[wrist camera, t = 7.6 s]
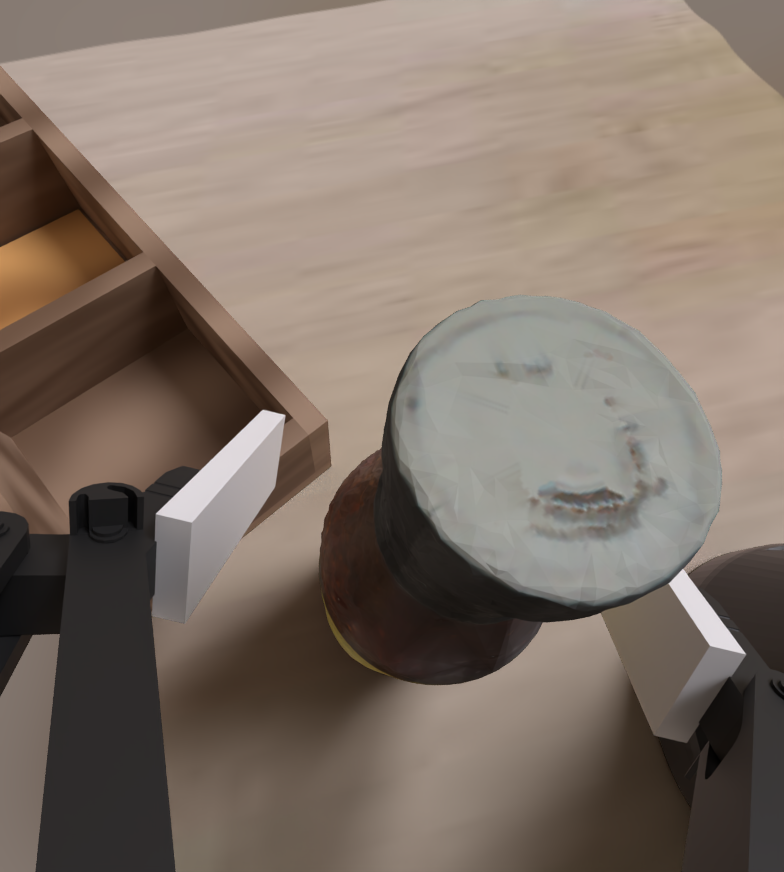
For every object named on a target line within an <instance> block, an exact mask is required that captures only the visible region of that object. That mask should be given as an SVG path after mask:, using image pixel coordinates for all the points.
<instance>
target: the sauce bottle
mask: <svg viewBox="0 0 784 872" xmlns="http://www.w3.org/2000/svg"><path fill="white" fill-rule="evenodd" d="M721 487H722V468H721V462H720V450H719V447H718V445H717V442H716V439H715V437H714V434H713V431H712V428H711V426H710V424H709V421H708V419H707V417H706V415H705V413H704V411H703V409H702V407H701V405H700V403H699V400H698V398H697V396H696V394H695V392H694V391H693V389H692V388H691V387H690V386H689V384H688V383H687V382H686V380H685V379H684V378H683V377H682V375H681V374H680V373H679V372H678V371H677V370H676V368H675V367H674V366H673V365H672V364H671V363H670V361H669V360H668V359H667V358H666V357H665V355H664V354H663V353H662V352H661V351H660V350H659V349H658V348H656V347H655V346H654V345H653V344H652V343H651V342H650V341H649V340H648V339H647V338H646V337H645V336H644V335H643V334H642V333H641V332H640V331H638V330H637V329H635V328H633V327H631V326H630V325H628V324H626V323H624V322H622V321H620V320H618V319H617V318H615V317H613V316H612V315H610V314H609V313H607V312H605V311H602V310H599V309H596V308H592V307H589V306H587V305H585V304H582V303H580V302H576V301H571V300H567V299H563V298H557V297H549V296H526V295H516V296H510V297H505V298H502V299H498V300H481V301H479V302H477V303H475V304H474V305H472V306H471V307H468V308H465V309H462V310H459V311H456V312H455V313H453V314H452V315H450V316H449V317H448V318H446V319H445V320H443V321H442V322H440V323H439V324H437V325H436V326H435V327H434V328H433V329H432V330H431V331H429V332H428V333H427V334H426V335H424V336H423V338H422V339H421V340H420V341H419V343H418V344H417V345H416V346H415V348H414V349H413V350H412V351H411V352H410V354H409V356H408V358H407V360H406V362H405V364H404V366H403V368H402V370H401V371H400V373H399V376H398V378H397V381H396V384H395V387H394V390H393V392H392V395H391V398H390V401H389V405H388V411H387V417H386V422H385V427H384V434H383V441H382V448H381V449H380V450H378V451H376V452H375V453H373V454H371V455H370V456H369V457H367V458H366V459H365V460H363V461H362V462H361V464H360V465H358V466H357V468H356V469H355V470H353V471H352V472H351V473H350V474H349V476H348V477H347V478H346V479H345V480H344V481H343V483H342V484H341V486H340V488H339V489H338V491H337V492H336V494H335V496H334V499H333V500H332V502H331V503H330V505H329V511H328V513H327V515H326V517H325V519H324V528H323V531H322V533H321V538H322V543H321V547H320V558H319V580H320V587H321V593H322V598H323V602H324V605H325V609H326V615H327V619H328V622H329V625H330V628H331V630H332V632H333V633H334V635H335V637H336V639H337V641H338V642H339V644H340V645H341V646H342V648H343V649H344V650H345V651H346V652H347V653H348V654H349V655H350V656H351V657H352V658H353V659H355V660H356V661H358V662H359V663H361V664H362V665H364V666H365V667H367V668H369V669H372V670H374V671H377V672H380V673H383V674H386V675H388V676H391V677H394V678H397V679H400V680H403V681H407V682H412V683H417V684H425V685H450V684H459V683H464V682H468V681H472V680H476V679H479V678H482V677H484V676H486V675H488V674H491V673H493V672H495V671H497V670H499V669H500V668H502V667H503V666H505V665H506V664H508V663H509V662H511V661H512V660H513V659H514V658H516V657H517V656H518V655H519V654H520V653H521V652H522V651H523V650H524V649H525V648H526V647H527V646H528V644H529V643H530V642H531V640H532V639H533V638H534V636H535V635H536V634H537V633H538V631H539V629H540V627H541V625H542V623H543V622H556V621H566V620H575V619H580V618H585V617H589V616H592V615H595V614H598V613H601V612H603V611H605V610H608V609H612V608H615V607H619V606H623V605H626V604H630V603H632V602H633V601H635V600H637V599H639V598H641V597H643V596H645V595H647V594H649V593H651V592H652V591H655V590H657V589H659V588H661V587H663V586H665V585H667V584H668V583H670V582H671V581H672V580H673V579H674V578H675V577H676V576H677V575H678V574H679V572H680V571H681V570H682V569H683V568H684V567H685V566H686V565H687V564H688V563H689V562H690V561H691V559H692V558H693V557H694V556H695V554H696V553H697V552H698V550H699V549H700V548H701V546H702V545H703V544H704V541H705V539H706V536H707V533H708V531H709V528H710V526H711V524H712V522H713V520H714V518H715V517H716V515H717V513H718V512H719V506H720V496H721Z"/></svg>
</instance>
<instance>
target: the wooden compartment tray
mask: <svg viewBox="0 0 784 872" xmlns="http://www.w3.org/2000/svg"><path fill="white" fill-rule="evenodd" d="M262 410H266V411H270V412H275V413H279V414H283V415H285V422H284V429H283V436H282V443H281V450H280V457H279V464H278V471H277V478H276V485H275V488H274V489H273V491H272V492H271V494H270V495H269V497H268V499H267V500H266V502H265V503H264V505H263V506H262V508H261V509H260V511H259V512H258V514H257V515H256V517H255V518H254V520H253V521H252V523H251V524H250V526H249V527H248V529H247V530H246V532H245V533H244V535H243V536H242V538H243V537H244V536H245V535H246V534H248V533H249V532H250V531H251V530H253V529H254V528H255V527H256V526H258V525H259V524H260V523H261V522H263V521H264V520H265V519H266V518H268V517H269V516H270V515H271V514H273V513H274V512H275V511H276V510H277V509H279V508H280V507H281V506H282V505H284V504H285V503H286V502H287V501H289V500H290V499H291V498H292V497H294V496H295V495H296V494H297V493H299V492H300V491H301V490H302V489H304V488H305V487H306V486H307V485H309V484H310V483H311V482H312V481H313V480H315V479H316V478H317V477H318V476H320V475H321V474H322V473H323V472H325V471H326V470H327V469H328V468H330V467H331V456H330V443H329V430H328V420H327V419H326V418H325V417H324V416H323V415H322V414H321V413H320V412H319V410H318V409H317V408H316V407H315V406H314V405H313V404H312V403H311V402H310V401H309V400H308V399H307V397H306V396H305V395H304V394H303V393H302V392H301V391H300V390H299V389H298V388H297V387H296V386H295V384H294V383H293V382H292V381H291V380H290V379H289V378H288V377H287V376H286V375H285V374H284V373H283V371H282V370H281V369H280V368H279V367H278V366H277V365H276V364H275V363H274V362H273V361H272V360H271V358H270V357H269V356H268V355H267V354H266V353H265V352H264V351H263V350H262V349H261V348H260V347H259V346H258V344H257V343H256V342H255V341H254V340H253V339H252V338H251V337H250V336H249V335H248V334H247V333H246V331H245V330H244V329H243V328H242V327H241V326H240V325H239V324H238V323H237V322H236V321H235V320H234V318H233V317H232V316H231V315H230V314H229V313H228V312H227V311H226V310H225V309H224V308H223V307H222V305H221V304H220V303H219V302H218V301H217V300H216V299H215V298H214V297H213V296H212V295H211V294H210V292H209V291H208V290H207V289H206V288H205V287H204V286H203V285H202V284H201V283H200V282H199V281H198V279H197V278H196V277H195V276H194V275H193V274H192V273H191V272H190V271H189V270H188V269H187V268H186V267H185V265H184V264H183V263H182V262H181V261H180V260H179V259H178V258H177V257H176V256H175V255H174V254H173V252H172V251H171V250H170V249H169V248H168V247H167V246H166V245H165V244H164V243H163V242H162V241H161V239H160V238H159V237H158V236H157V235H156V234H155V233H154V232H153V231H152V230H151V229H150V228H149V226H148V225H147V224H146V223H145V222H144V221H143V220H142V219H141V218H140V217H139V216H138V215H137V213H136V212H135V211H134V210H133V209H132V208H131V207H130V206H129V205H128V204H127V203H126V202H125V200H124V199H123V198H122V197H121V196H120V195H119V194H118V193H117V192H116V191H115V190H114V189H113V187H112V186H111V185H110V184H109V183H108V182H107V181H106V180H105V179H104V178H103V177H102V176H101V175H100V173H99V172H98V171H97V170H96V169H95V168H94V167H93V166H92V165H91V164H90V163H89V162H88V160H87V159H86V158H85V157H84V156H83V155H82V154H81V153H80V152H79V151H78V150H77V149H76V147H75V146H74V145H73V144H72V143H71V142H70V141H69V140H68V139H67V138H66V137H65V136H64V134H63V133H62V132H61V131H60V130H59V129H58V128H57V127H56V126H55V125H54V124H53V123H52V121H51V120H50V119H49V118H48V117H47V116H46V115H45V114H44V113H43V112H42V111H41V110H40V108H39V107H38V106H37V105H36V104H35V103H34V102H33V101H32V100H31V99H30V98H29V97H28V95H27V94H26V93H25V92H24V91H23V90H22V89H21V88H20V87H19V86H18V85H17V84H16V83H15V81H14V80H13V79H12V78H11V77H10V76H9V75H8V74H7V73H6V72H5V71H4V70H3V68H2V67H1V66H0V511H4V512H11V513H16V514H18V515H20V516H22V517H24V518H25V519H26V520H27V522H28V524H29V534H70V525H69V502H68V501H69V499H70V497H71V496H72V494H73V493H75V492H76V491H78V490H79V489H81V488H83V487H86V486H89V485H92V484H98V483H105V482H115V483H124V484H128V485H132V486H134V487H136V488H138V489H139V490H141V492H145V489H147V488H148V487H149V486H150V485H151V484H154V482H155V481H156V480H157V479H158V478H159V477H161V476H162V475H163V474H164V473H165V472H167V471H170V470H173V469H175V468H178V467H180V466H186V467H191V468H195V469H199V470H201V469H202V468H204V467H205V466H206V465H207V464H208V463H209V462H210V461H211V460H212V459H213V458H214V457H215V456H216V455H217V454H218V453H219V452H220V451H221V450H222V449H223V448H224V447H225V446H226V445H227V444H228V443H229V442H230V441H231V440H232V439H233V438H234V437H235V436H236V435H237V434H238V433H239V432H241V431H242V430H243V429H244V428H245V427H246V426H247V425H248V424H249V423H250V422H251V421H252V420H253V419H254V418H255V417H256V416H257V415H258V414H259V413H260V412H261V411H262ZM242 538H241V539H242ZM152 603H153V597H152V599H151V600H150V606H151V611H152Z"/></svg>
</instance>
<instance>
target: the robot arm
mask: <svg viewBox="0 0 784 872" xmlns="http://www.w3.org/2000/svg"><path fill="white" fill-rule="evenodd" d="M284 422H285V415H283V414H279V413H275V412H270V411H266V410H262V411H261V412H260V413H259V414H258V415H257V416H256V417H255V418H254V419H253V420H252V421H251V422H250V423H249V424H248V425H247V426H246V427H245V428H244V429H243V430H242V431H241V432H239V433H238V434H237V435H236V436H235V437H234V438H233V439H232V440H231V441H230V442H229V443H228V444H227V445H226V446H225V447H224V448H223V449H222V450H221V451H220V452H219V453H218V454H217V455H216V456H215V457H214V458H213V459H212V460H211V461H210V462H209V463H208V464H207V465H206V466H205V467H204V468H202V469H201V470H199V469H195V468H191V467H186V466H180V467H178V468H175V469H173V470H170V471H167V472H165V473H164V474H163V475H162V476H161V477H159V478H158V479H157V480H156V481H155V482H154V484H151V485H150V486H149V487H148V488H147V489H145V492H141V490H139V489H138V488H136V487H134V486H132V485H128V484H124V483H115V482H105V483H98V484H92V485H89V486H86V487H83V488H81V489H79V490H78V491H76V492H75V493H73V494H72V496H71V497H70V499H69V501H68V502H69V525H70V534H29V524H28V522H27V520H26V519H25V518H24V517H22V516H20V515H18V514H16V513H11V512H4V511H0V696H1V694H2V692H3V690H4V689H5V687H6V685H7V683H8V681H9V679H10V677H11V675H12V673H13V671H14V669H15V668H16V666H17V664H18V662H19V660H20V658H21V656H22V654H23V652H24V650H25V648H26V647H27V645H28V643H29V641H30V639H31V637H32V635H41V634H60V638H59V648H58V658H57V668H56V678H55V687H54V697H53V707H52V717H51V726H50V736H49V746H48V755H47V766H46V775H45V786H44V794H43V805H42V814H41V824H40V833H39V844H38V853H37V863H36V872H176V871H175V861H174V850H173V839H172V829H171V818H170V808H169V797H168V786H167V776H166V765H165V754H164V744H163V733H162V723H161V712H160V701H159V691H158V680H157V669H156V659H155V648H154V638H153V627H152V616H154V617H158V618H163V619H167V620H171V621H175V622H179V623H184V624H185V623H186V621H187V620H188V618H189V617H190V615H191V614H192V612H193V611H194V609H195V608H196V606H197V605H198V603H199V602H200V600H201V599H202V597H203V596H204V594H205V593H206V591H207V590H208V588H209V587H210V585H211V583H212V582H213V580H214V579H215V577H216V576H217V574H218V573H219V571H220V570H221V568H222V567H223V565H224V564H225V562H226V561H227V559H228V558H229V556H230V555H231V553H232V552H233V550H234V549H235V547H236V546H237V544H238V543H239V541H240V539H241V538H242V536H243V535H244V533H245V532H246V530H247V529H248V527H249V526H250V524H251V523H252V521H253V520H254V518H255V517H256V515H257V514H258V512H259V511H260V509H261V508H262V506H263V505H264V503H265V502H266V500H267V499H268V497H269V495H270V494H271V492H272V491H273V489H274V488H275V485H276V478H277V471H278V464H279V457H280V450H281V443H282V436H283V429H284ZM152 597H153V603H152V616H151V606H150V600H151V599H152ZM601 614H602V617H603V619H604V621H605V624H606V626H607V628H608V631H609V633H610V635H611V638H612V640H613V642H614V644H615V647H616V649H617V651H618V654H619V656H620V658H621V661H622V663H623V665H624V668H625V670H626V672H627V675H628V677H629V679H630V681H631V684H632V686H633V688H634V691H635V693H636V695H637V698H638V700H639V702H640V705H641V707H642V709H643V711H644V714H645V716H646V718H647V721H648V723H649V725H650V728H651V730H652V732H653V735H655V736H659V739H660V742H661V745H662V748H663V751H664V754H665V757H666V759H667V762H668V764H669V767H670V769H671V771H672V773H673V776H674V778H675V780H676V782H677V784H678V786H679V788H680V790H681V792H682V794H683V795H684V797H685V799H686V801H687V802H688V804H689V805H690V807H691V814H690V820H689V827H688V833H687V840H686V846H685V852H684V859H683V865H682V871H681V872H784V544H770V545H764V546H759V547H754V548H749V549H744V550H740V551H735V552H730V553H727V554H724V555H721V556H718V557H716V558H714V559H712V560H710V561H708V562H706V563H704V564H703V565H701V566H699V567H698V568H697V569H695V570H694V571H693V572H692V573H690V574H689V575H687V574H686V572H685V571H684V570H683V569H682V570H681V571H680V572H679V574H678V575H677V576H676V577H675V578H674V579H673V580H672V581H671V582H670V583H668V584H667V585H665V586H663V587H661V588H659V589H657V590H655V591H652V592H651V593H649V594H647V595H645V596H643V597H641V598H639V599H637V600H635V601H633V602H632V603H630V604H626V605H623V606H619V607H615V608H612V609H608V610H605V611H603V612H601Z"/></svg>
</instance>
